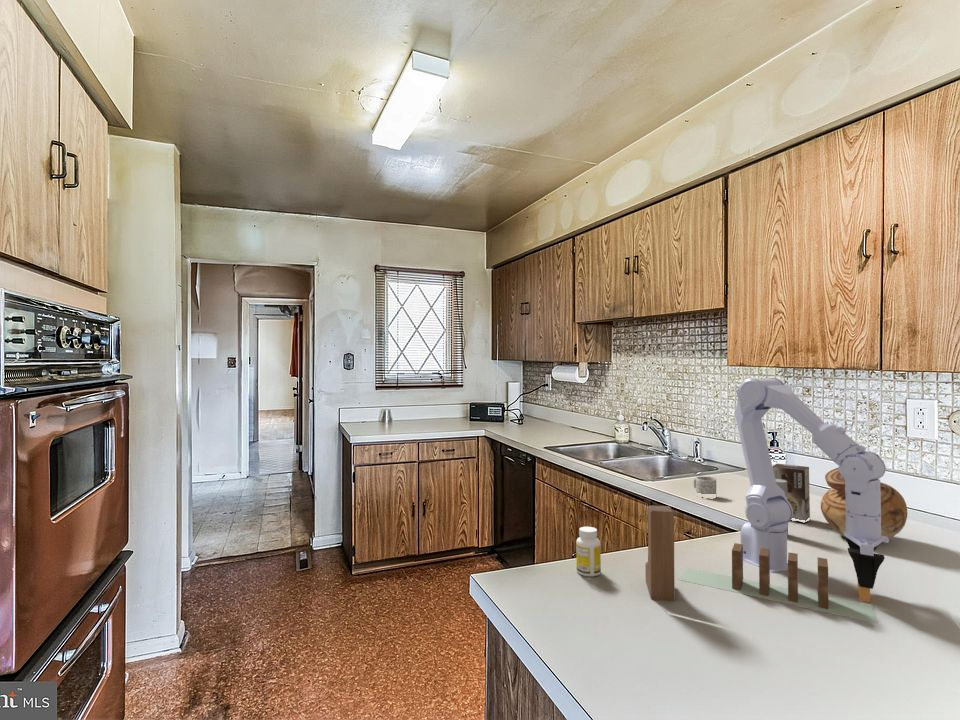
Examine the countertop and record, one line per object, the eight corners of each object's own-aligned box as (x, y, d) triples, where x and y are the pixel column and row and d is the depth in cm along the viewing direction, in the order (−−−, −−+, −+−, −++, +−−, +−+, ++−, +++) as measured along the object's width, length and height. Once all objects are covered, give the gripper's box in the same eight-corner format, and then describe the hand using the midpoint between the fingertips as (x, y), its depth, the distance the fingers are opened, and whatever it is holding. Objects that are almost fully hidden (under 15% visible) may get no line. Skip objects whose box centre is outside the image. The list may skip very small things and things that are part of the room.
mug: (720, 498, 178) (720, 479, 178) (704, 499, 176) (704, 480, 177) (701, 491, 188) (701, 474, 188) (686, 492, 186) (686, 475, 186)
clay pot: (804, 528, 145) (804, 459, 145) (864, 526, 147) (863, 458, 147) (860, 553, 126) (860, 473, 126) (928, 550, 128) (927, 472, 128)
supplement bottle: (597, 567, 117) (597, 525, 117) (603, 577, 112) (603, 532, 112) (574, 567, 117) (574, 525, 117) (579, 577, 111) (579, 533, 112)
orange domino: (859, 602, 100) (859, 561, 100) (857, 592, 104) (857, 554, 104) (870, 604, 99) (869, 563, 99) (867, 594, 103) (867, 555, 103)
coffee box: (810, 519, 154) (810, 466, 154) (806, 524, 149) (805, 469, 149) (777, 513, 160) (776, 462, 160) (771, 517, 155) (771, 465, 156)
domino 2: (759, 594, 102) (759, 554, 102) (761, 585, 106) (760, 547, 107) (768, 596, 101) (768, 556, 101) (769, 587, 106) (769, 549, 106)
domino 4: (818, 607, 97) (818, 565, 97) (817, 597, 101) (817, 557, 101) (828, 609, 96) (828, 567, 96) (827, 599, 100) (827, 558, 100)
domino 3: (788, 600, 100) (787, 560, 100) (788, 591, 104) (788, 552, 104) (797, 602, 99) (797, 561, 99) (797, 593, 103) (797, 553, 103)
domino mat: (679, 581, 109) (679, 579, 109) (686, 569, 116) (686, 567, 116) (877, 625, 91) (877, 623, 91) (872, 607, 98) (872, 605, 98)
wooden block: (645, 582, 109) (645, 499, 109) (667, 584, 108) (666, 500, 108) (651, 601, 100) (650, 510, 100) (674, 603, 99) (674, 512, 99)
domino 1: (732, 588, 105) (731, 550, 105) (734, 579, 109) (734, 543, 109) (740, 590, 104) (740, 551, 104) (743, 581, 108) (742, 544, 108)
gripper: (893, 525, 93) (894, 598, 93) (883, 507, 106) (884, 572, 105) (846, 519, 97) (847, 589, 97) (842, 502, 109) (843, 565, 109)
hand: (863, 580), depth 101 cm, fingers open, 7 cm apart
